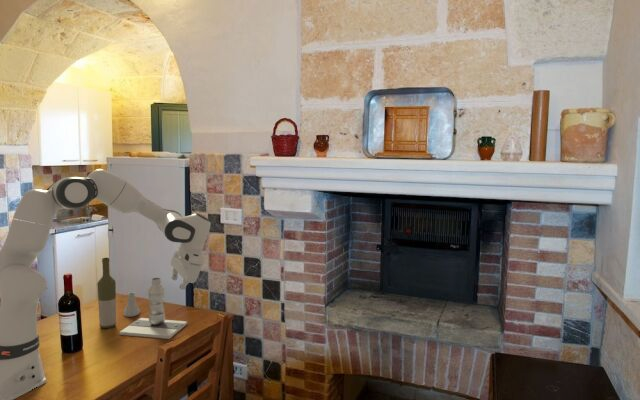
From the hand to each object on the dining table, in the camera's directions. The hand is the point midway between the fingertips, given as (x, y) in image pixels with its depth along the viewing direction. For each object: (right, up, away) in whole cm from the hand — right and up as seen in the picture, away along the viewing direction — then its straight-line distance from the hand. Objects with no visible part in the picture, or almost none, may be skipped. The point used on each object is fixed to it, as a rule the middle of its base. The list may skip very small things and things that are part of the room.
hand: (177, 284), depth 182 cm
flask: (-29, -19, +25) cm, 43 cm away
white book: (-13, -21, +9) cm, 26 cm away
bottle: (-34, -21, +11) cm, 41 cm away
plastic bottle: (-12, -19, +11) cm, 25 cm away
